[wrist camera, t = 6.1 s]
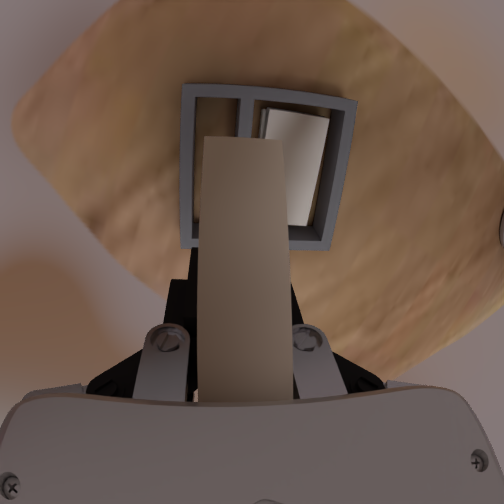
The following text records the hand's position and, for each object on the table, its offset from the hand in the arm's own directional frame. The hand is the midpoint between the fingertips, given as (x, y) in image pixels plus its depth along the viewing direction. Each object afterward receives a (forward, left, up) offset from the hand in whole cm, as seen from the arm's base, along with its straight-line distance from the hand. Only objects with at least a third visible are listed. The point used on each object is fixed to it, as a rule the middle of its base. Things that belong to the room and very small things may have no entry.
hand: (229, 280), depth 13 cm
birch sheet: (0, +5, -4) cm, 6 cm away
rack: (-3, 0, -17) cm, 17 cm away
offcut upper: (-6, 0, -16) cm, 17 cm away
